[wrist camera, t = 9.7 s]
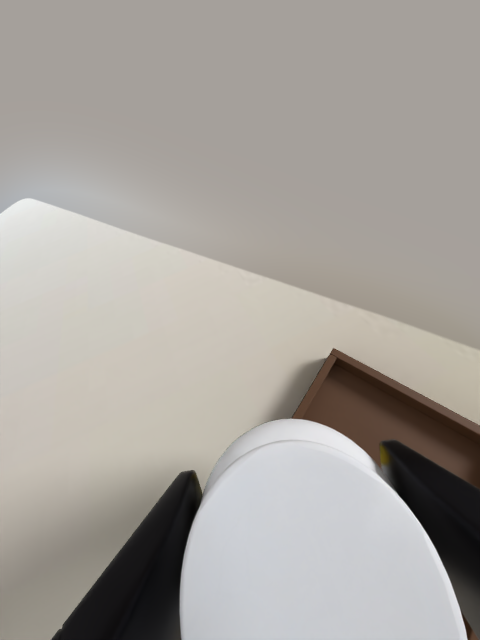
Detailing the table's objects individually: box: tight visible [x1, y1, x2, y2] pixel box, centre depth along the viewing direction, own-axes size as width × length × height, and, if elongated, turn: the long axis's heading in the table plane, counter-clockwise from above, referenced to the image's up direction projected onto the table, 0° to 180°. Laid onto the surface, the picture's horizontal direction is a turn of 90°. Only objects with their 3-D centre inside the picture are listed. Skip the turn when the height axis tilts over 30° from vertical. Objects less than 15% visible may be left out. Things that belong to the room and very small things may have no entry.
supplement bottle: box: [180, 419, 467, 640], centre depth 8 cm, size 5×5×10 cm
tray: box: [291, 348, 480, 640], centre depth 15 cm, size 12×12×2 cm
